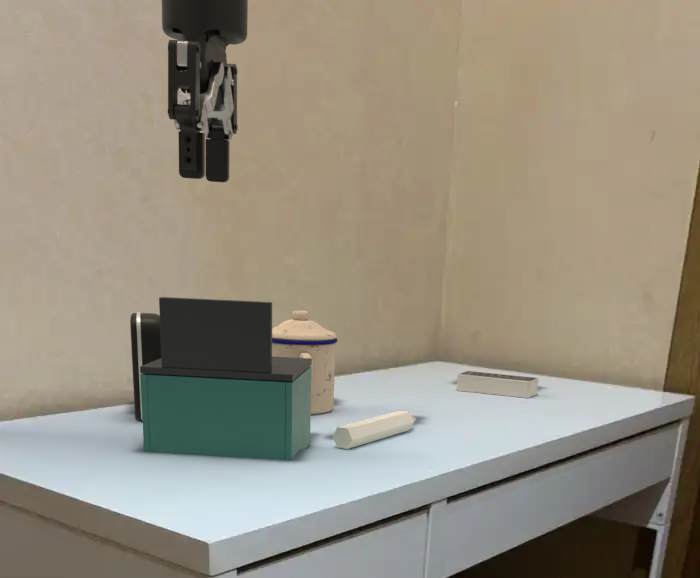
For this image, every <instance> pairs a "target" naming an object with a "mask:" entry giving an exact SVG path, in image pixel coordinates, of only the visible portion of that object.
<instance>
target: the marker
mask: <svg viewBox="0 0 700 578" xmlns="http://www.w3.org/2000/svg"><path fill="white" fill-rule="evenodd" d="M416 420H417V417H414V416H412V414H411V412H410V411H405V410H397V411H394V412H389V413H386V414H382V415H378V416H374V417H370V418H367V419H363V420H358V421H355V422H351V423H347V424H343V425H339V426H337V427H336V428H335V430H334V433H333V434H332V440H333V442H334V444H335V447H336V448H339V449H344V450H348V449H352V448H355V447H359V446H362V445H366V444H370V443H373V442H376V441H379V440H382V439H385V438H389V437H392V436H396V435H399V434H402V433H406V432H409V431H410V429H411V427H412V426H413V424H414V423H415V421H416Z"/></svg>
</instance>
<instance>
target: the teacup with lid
mask: <svg viewBox="0 0 700 578" xmlns="http://www.w3.org/2000/svg"><path fill="white" fill-rule="evenodd" d="M309 317H310V314H309V312H308V311H307V310H293V311H292V313H291V318H292V319H287V320H284V321H283V322H281V323H279V324H278V325H277V326H275V327H272V357H290V358H310V359H312V364H311V365H310V366H312V369H311V415H321V414H326V413H328V412H331V411H332V410H333V409H334V403H335V402H334V401H335V374H336V373H335V371H336V369H335V367H336V343H337V342H338V338H337V334H336V333H335V332H333V331H331V330H328V329H327V328H324V327H323V326H322V325H321V324H319V323H318V322H316V321H314V320H311V319H309Z"/></svg>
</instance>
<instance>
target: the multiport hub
mask: <svg viewBox="0 0 700 578" xmlns="http://www.w3.org/2000/svg"><path fill="white" fill-rule="evenodd" d="M456 380H457V381H456V391H459V392H468V393H469V392H470V393H478V394H486V395H487V394H488V395H495V396H504V397H505V396H506V397H512V398H513V397H515V398H524V399H530V398H533V397H534V396H535V397H536V396H537V395H538V388H539V378H538V377H534V376H533V377H531V376H523V375H514V374H513V375H512V374H503V373H492V372H482V371H473V370H472V371H471V370H467V371H464V372H461V373H458V374H457V379H456Z"/></svg>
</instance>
